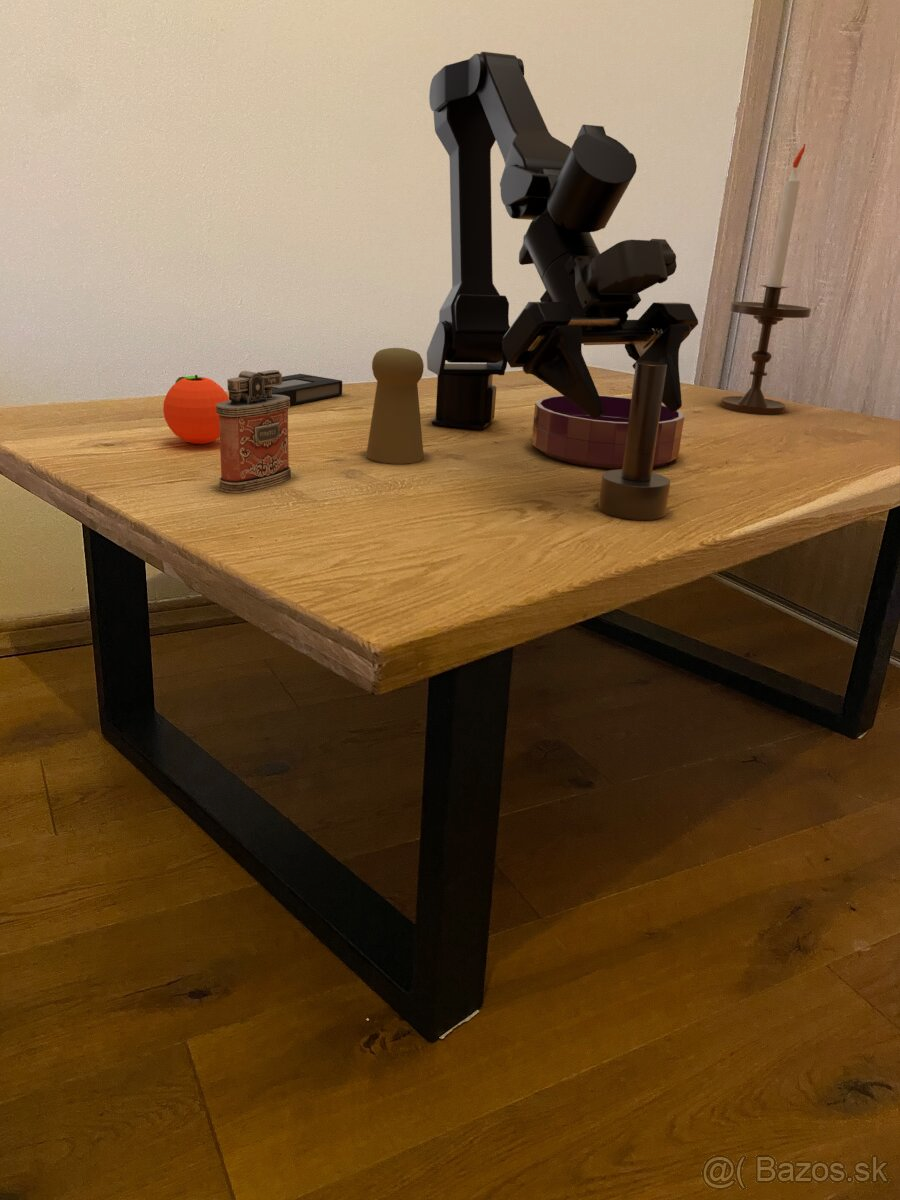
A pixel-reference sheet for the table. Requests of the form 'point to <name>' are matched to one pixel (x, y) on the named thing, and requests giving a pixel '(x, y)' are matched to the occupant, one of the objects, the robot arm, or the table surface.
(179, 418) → the clementine
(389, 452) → the cork
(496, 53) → the robot arm
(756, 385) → the candlestick
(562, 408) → the bowl
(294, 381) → the vhs tape
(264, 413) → the lighter
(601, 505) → the bolt
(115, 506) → the table surface
